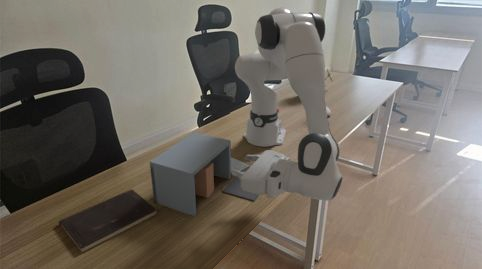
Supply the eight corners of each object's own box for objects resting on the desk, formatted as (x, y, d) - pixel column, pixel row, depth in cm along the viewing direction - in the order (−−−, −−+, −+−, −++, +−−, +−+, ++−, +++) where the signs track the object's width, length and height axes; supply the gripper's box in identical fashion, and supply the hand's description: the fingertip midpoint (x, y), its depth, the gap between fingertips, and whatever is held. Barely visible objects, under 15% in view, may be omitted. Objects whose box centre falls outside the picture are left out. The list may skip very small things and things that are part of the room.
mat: (237, 175, 122) (237, 174, 122) (267, 183, 117) (267, 182, 117) (222, 191, 112) (222, 190, 112) (254, 201, 107) (254, 200, 107)
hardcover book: (157, 215, 101) (157, 209, 100) (81, 255, 86) (80, 248, 85) (131, 193, 111) (130, 188, 110) (59, 225, 96) (58, 219, 95)
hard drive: (250, 165, 127) (227, 154, 134) (236, 173, 121) (212, 161, 128) (250, 169, 127) (227, 158, 135) (236, 177, 122) (212, 165, 129)
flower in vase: (326, 120, 172) (333, 73, 162) (306, 115, 178) (311, 70, 167) (334, 112, 182) (340, 68, 172) (314, 108, 188) (319, 65, 177)
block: (202, 187, 114) (201, 159, 110) (213, 190, 112) (213, 162, 108) (195, 194, 111) (194, 166, 106) (207, 197, 109) (206, 169, 104)
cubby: (195, 168, 126) (193, 132, 120) (230, 177, 120) (230, 140, 114) (154, 202, 106) (149, 161, 100) (194, 216, 100) (191, 173, 94)
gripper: (294, 150, 102) (253, 141, 107) (270, 182, 85) (224, 170, 90) (292, 168, 105) (252, 158, 110) (269, 202, 88) (224, 189, 93)
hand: (239, 164), depth 100 cm, fingers open, 8 cm apart
